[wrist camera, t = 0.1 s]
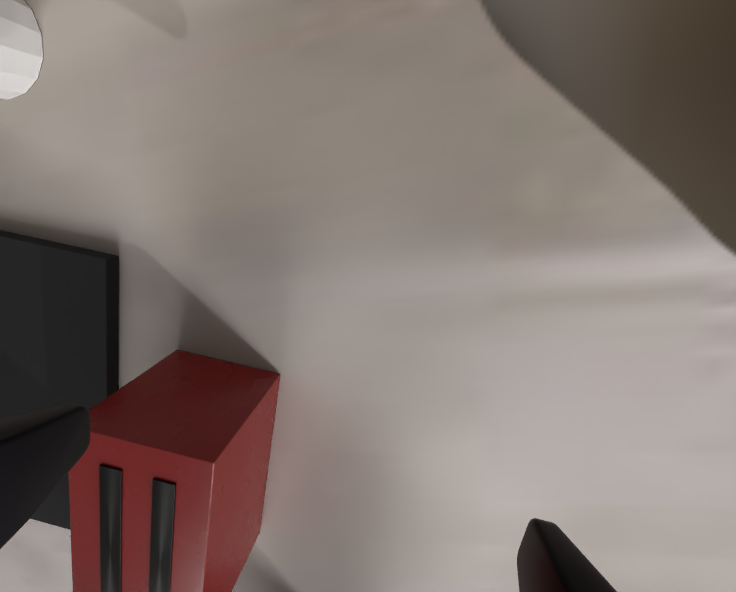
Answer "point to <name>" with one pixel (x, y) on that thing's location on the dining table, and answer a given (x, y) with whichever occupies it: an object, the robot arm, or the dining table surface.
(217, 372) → the toaster
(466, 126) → the dining table surface
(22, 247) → the placemat
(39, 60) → the shot glass
